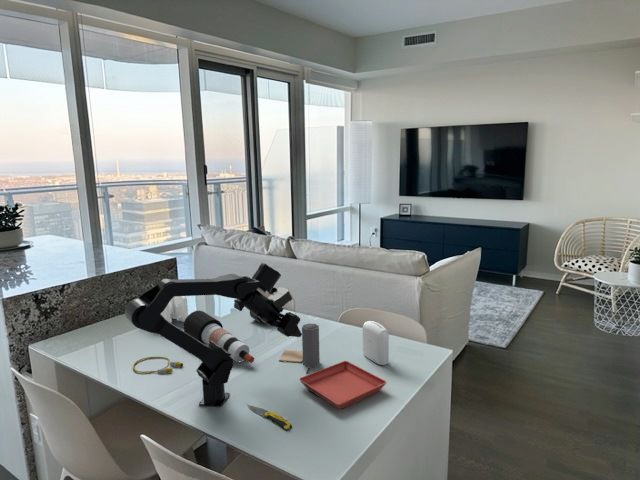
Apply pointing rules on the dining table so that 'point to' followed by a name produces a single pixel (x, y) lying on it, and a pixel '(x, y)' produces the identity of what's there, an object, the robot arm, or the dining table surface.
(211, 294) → the robot arm
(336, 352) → the dining table surface
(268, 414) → the utility knife
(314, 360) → the octagonal tapered tumbler
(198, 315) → the cable
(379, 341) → the photo printer
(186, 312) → the cable organizer
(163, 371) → the extension cord
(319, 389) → the plant saucer
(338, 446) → the dining table surface
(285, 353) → the tan pad
